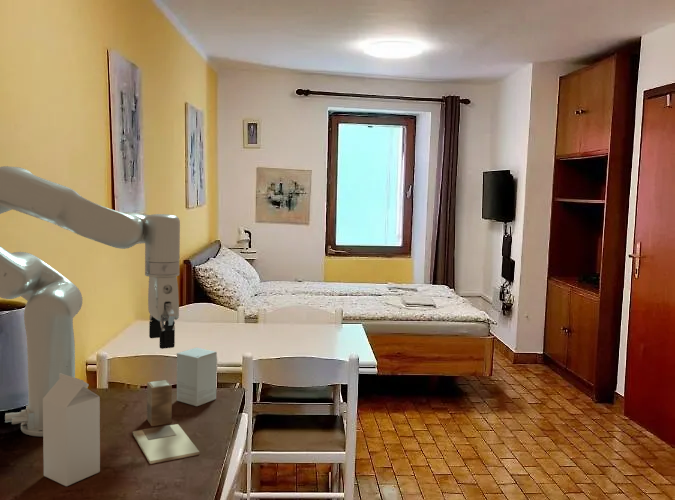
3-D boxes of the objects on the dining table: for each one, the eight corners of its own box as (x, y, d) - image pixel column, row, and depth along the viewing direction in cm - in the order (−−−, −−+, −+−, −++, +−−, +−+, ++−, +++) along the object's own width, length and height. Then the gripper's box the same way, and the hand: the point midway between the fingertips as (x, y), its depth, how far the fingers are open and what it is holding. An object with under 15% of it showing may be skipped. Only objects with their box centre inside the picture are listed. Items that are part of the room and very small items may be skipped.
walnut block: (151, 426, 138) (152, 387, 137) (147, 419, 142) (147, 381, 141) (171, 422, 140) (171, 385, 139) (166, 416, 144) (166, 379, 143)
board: (150, 464, 120) (150, 460, 119) (132, 434, 133) (132, 431, 133) (199, 454, 125) (199, 451, 125) (177, 426, 138) (177, 423, 138)
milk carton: (66, 487, 109) (65, 385, 107) (43, 476, 113) (42, 377, 111) (100, 472, 115) (100, 376, 113) (77, 462, 119) (76, 368, 117)
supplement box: (217, 399, 157) (218, 351, 156) (196, 407, 151) (196, 357, 149) (196, 393, 161) (197, 346, 159) (175, 400, 155) (175, 352, 153)
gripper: (189, 273, 131) (188, 350, 133) (169, 263, 146) (168, 332, 148) (154, 275, 128) (153, 354, 129) (137, 264, 143) (136, 335, 144)
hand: (161, 342), depth 139 cm, fingers open, 9 cm apart
